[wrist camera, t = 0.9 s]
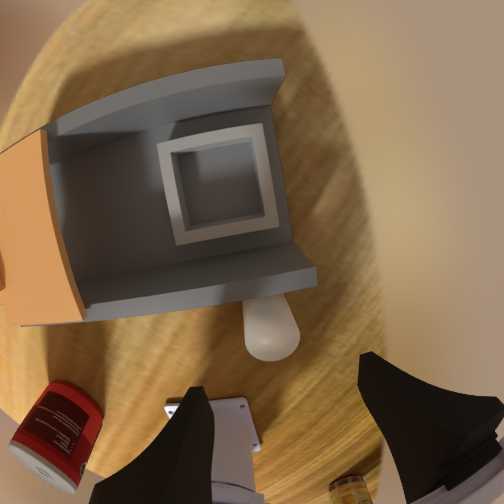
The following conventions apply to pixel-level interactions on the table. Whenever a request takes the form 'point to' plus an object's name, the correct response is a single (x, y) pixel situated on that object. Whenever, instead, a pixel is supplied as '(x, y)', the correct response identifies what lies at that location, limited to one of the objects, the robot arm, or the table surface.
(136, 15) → the table surface
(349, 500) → the sauce bottle
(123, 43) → the table surface
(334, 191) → the table surface
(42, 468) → the canned food
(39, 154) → the lid
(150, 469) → the robot arm
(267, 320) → the white rounded piece
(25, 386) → the table surface
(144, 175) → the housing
